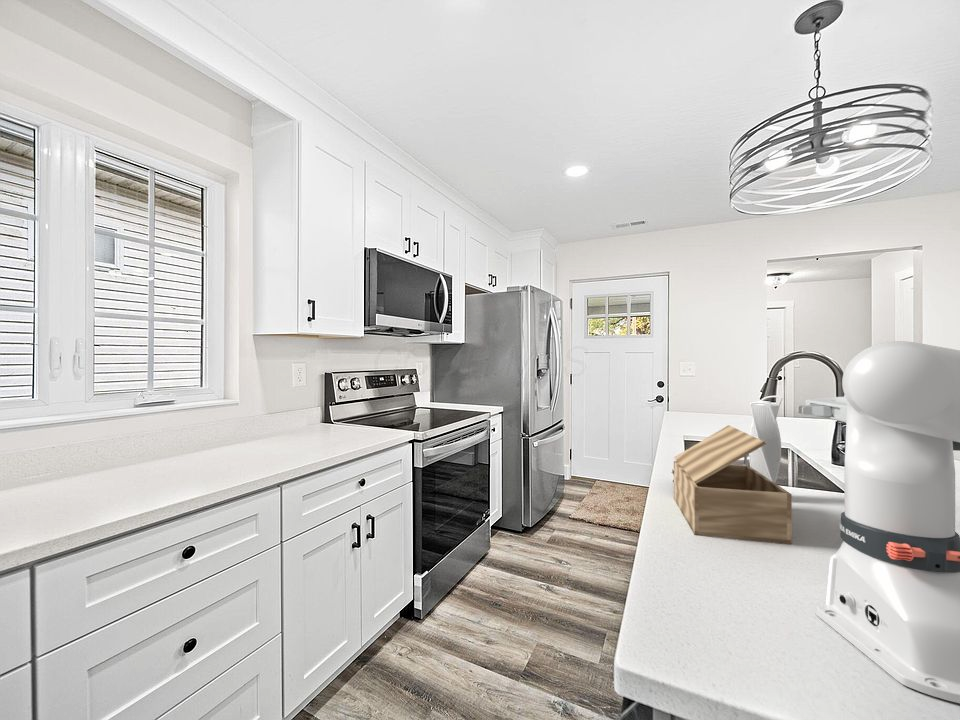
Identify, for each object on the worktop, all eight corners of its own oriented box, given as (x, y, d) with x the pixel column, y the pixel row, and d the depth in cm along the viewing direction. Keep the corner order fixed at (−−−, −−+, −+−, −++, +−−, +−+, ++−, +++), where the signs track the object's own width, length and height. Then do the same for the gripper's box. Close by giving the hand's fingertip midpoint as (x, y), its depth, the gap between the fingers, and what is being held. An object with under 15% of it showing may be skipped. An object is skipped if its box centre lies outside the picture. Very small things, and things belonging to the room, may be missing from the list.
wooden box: (791, 544, 88) (791, 494, 88) (694, 534, 92) (694, 487, 92) (748, 504, 113) (748, 465, 113) (673, 498, 118) (673, 461, 118)
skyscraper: (773, 495, 122) (773, 394, 123) (788, 504, 114) (788, 396, 115) (740, 493, 124) (740, 394, 124) (753, 502, 116) (753, 396, 116)
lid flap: (766, 443, 90) (764, 441, 90) (695, 484, 93) (694, 481, 93) (729, 427, 114) (728, 425, 114) (675, 459, 117) (673, 457, 117)
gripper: (906, 432, 85) (822, 430, 89) (848, 420, 105) (782, 418, 109) (905, 400, 85) (822, 399, 89) (848, 394, 105) (781, 393, 109)
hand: (799, 409), depth 99 cm, fingers closed
